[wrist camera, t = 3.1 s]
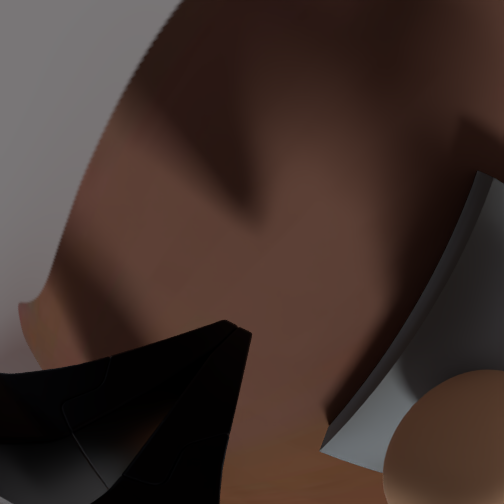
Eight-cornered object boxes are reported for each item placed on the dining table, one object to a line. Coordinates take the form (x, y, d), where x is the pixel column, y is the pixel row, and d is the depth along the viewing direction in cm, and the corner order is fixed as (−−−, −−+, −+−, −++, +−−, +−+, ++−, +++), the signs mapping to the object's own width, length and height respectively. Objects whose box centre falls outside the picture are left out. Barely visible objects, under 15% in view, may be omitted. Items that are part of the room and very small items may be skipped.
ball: (368, 415, 9) (328, 541, 5) (450, 308, 7) (467, 479, 2) (468, 447, 8) (458, 557, 3) (555, 359, 5) (589, 485, 1)
